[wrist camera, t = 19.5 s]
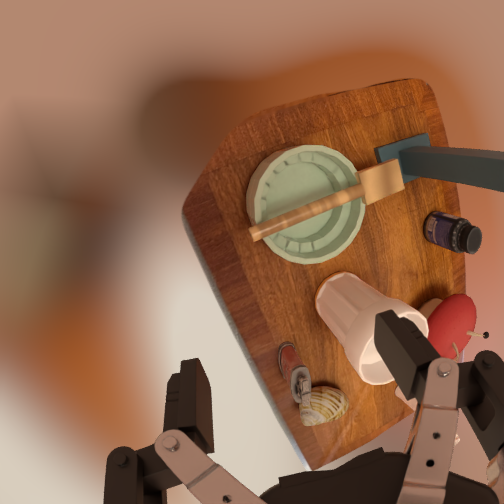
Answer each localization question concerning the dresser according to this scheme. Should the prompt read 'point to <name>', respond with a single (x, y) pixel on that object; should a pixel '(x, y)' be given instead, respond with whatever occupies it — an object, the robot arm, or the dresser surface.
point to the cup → (360, 321)
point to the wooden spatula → (339, 198)
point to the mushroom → (450, 323)
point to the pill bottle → (452, 232)
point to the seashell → (324, 406)
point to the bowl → (305, 201)
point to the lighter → (295, 373)
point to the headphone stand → (445, 162)
